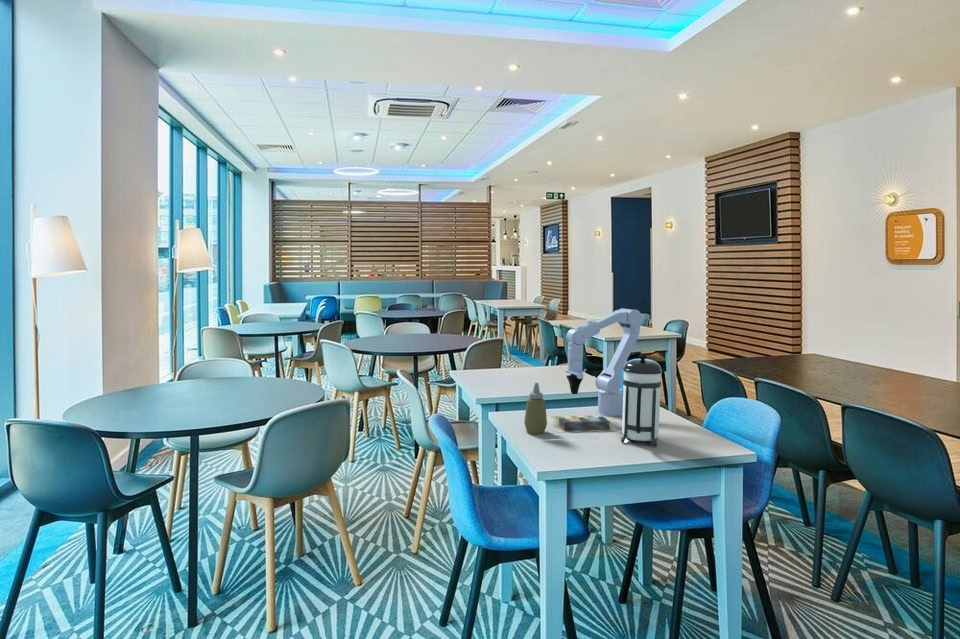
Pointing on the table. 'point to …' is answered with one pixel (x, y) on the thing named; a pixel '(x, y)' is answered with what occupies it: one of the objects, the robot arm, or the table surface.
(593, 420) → the slate-blue plug
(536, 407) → the squeeze bottle
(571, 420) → the peach square block
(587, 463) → the table surface
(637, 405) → the coffee press
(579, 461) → the table surface
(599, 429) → the comb board
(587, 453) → the table surface
